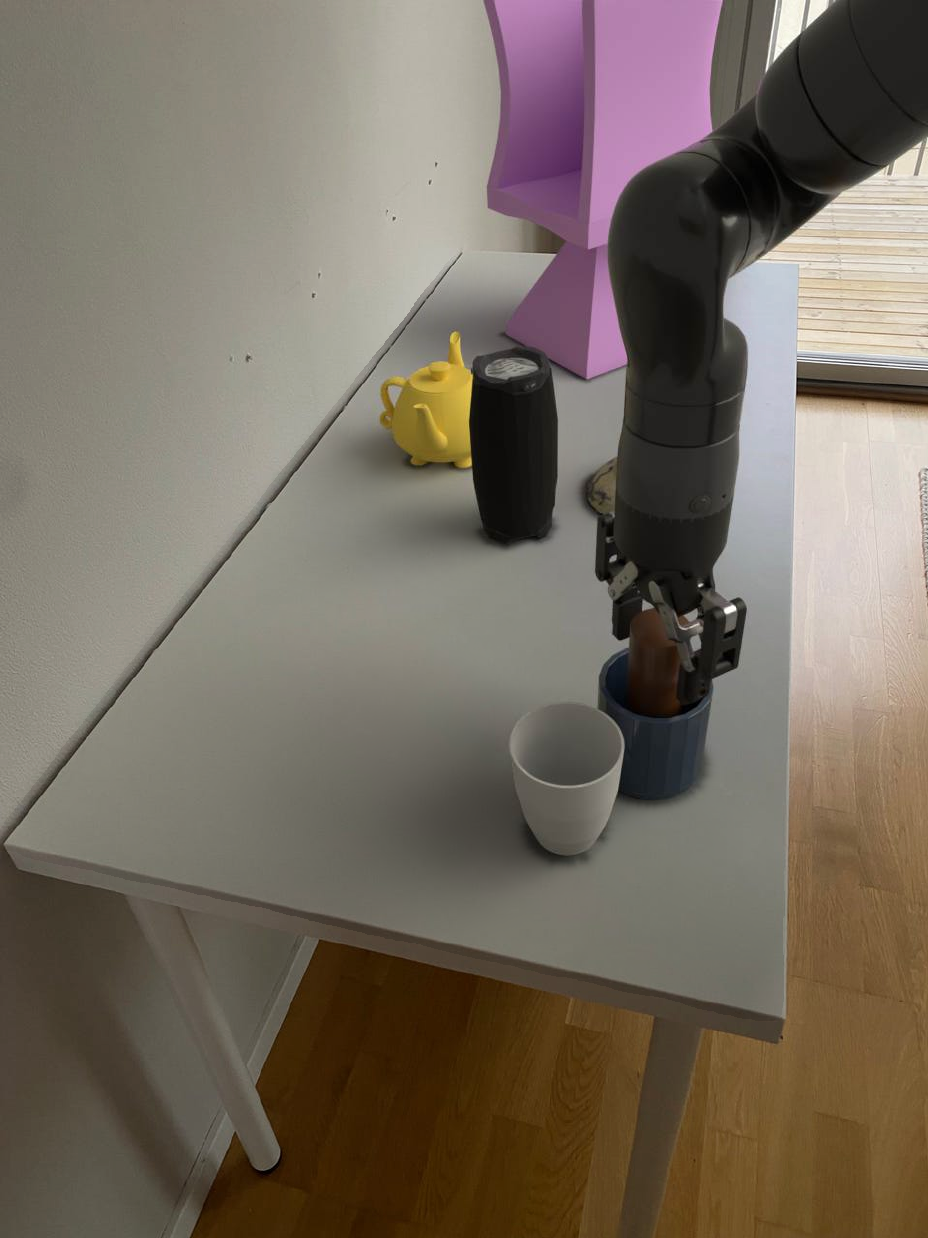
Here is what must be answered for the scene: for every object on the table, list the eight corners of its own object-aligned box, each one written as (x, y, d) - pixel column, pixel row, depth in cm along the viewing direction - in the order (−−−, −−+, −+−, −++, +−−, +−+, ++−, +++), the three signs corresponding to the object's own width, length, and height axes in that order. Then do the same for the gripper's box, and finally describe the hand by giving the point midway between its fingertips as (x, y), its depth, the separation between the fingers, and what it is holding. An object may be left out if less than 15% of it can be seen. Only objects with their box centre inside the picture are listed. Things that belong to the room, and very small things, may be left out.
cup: (639, 823, 73) (647, 737, 67) (575, 892, 69) (576, 807, 62) (557, 772, 77) (557, 686, 71) (492, 833, 73) (486, 748, 67)
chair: (493, 333, 143) (477, -20, 114) (607, 295, 152) (619, -43, 123) (585, 386, 129) (593, -4, 99) (705, 340, 137) (746, -32, 108)
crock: (719, 749, 78) (733, 671, 72) (668, 817, 73) (677, 740, 67) (630, 706, 83) (636, 630, 77) (575, 767, 78) (577, 691, 72)
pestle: (685, 749, 78) (702, 621, 69) (658, 783, 75) (672, 655, 66) (639, 726, 80) (649, 600, 71) (611, 758, 77) (618, 631, 68)
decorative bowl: (718, 461, 112) (592, 454, 115) (722, 434, 110) (593, 428, 112) (720, 535, 101) (580, 526, 104) (724, 507, 99) (581, 498, 101)
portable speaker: (461, 534, 104) (447, 370, 91) (511, 495, 109) (504, 334, 97) (524, 559, 100) (518, 390, 87) (573, 517, 105) (574, 352, 92)
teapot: (403, 408, 127) (394, 327, 120) (511, 413, 124) (508, 330, 117) (360, 489, 112) (346, 402, 105) (481, 496, 109) (475, 408, 102)
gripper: (798, 517, 57) (759, 706, 67) (656, 420, 66) (642, 597, 77) (697, 557, 54) (673, 746, 65) (566, 450, 64) (564, 629, 75)
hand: (656, 665), depth 71 cm, fingers open, 7 cm apart
